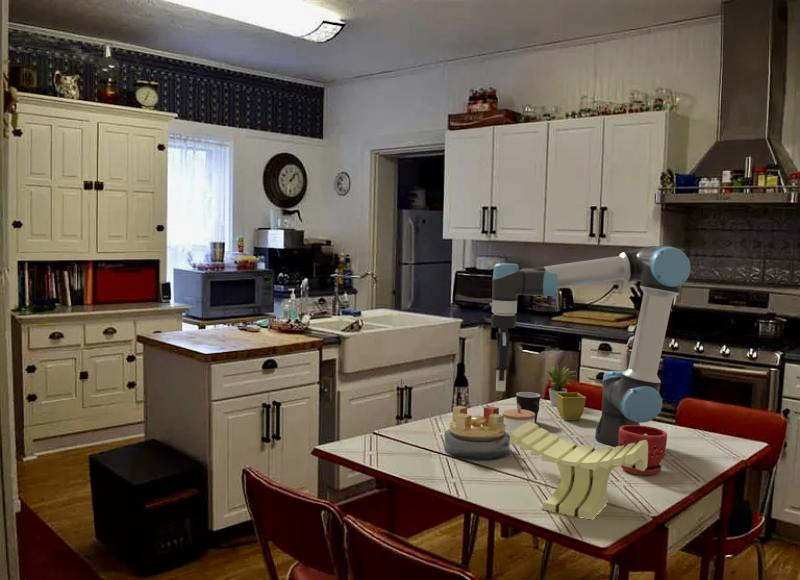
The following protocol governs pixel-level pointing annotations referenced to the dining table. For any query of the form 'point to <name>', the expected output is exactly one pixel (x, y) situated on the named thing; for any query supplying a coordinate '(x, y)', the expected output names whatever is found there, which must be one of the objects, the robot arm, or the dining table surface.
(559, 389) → the house plant
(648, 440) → the plant pot
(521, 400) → the coffee mug
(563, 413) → the flower pot
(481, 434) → the ring nut
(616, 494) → the dining table surface
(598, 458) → the slatted curved stool
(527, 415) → the lidded jar
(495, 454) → the base
